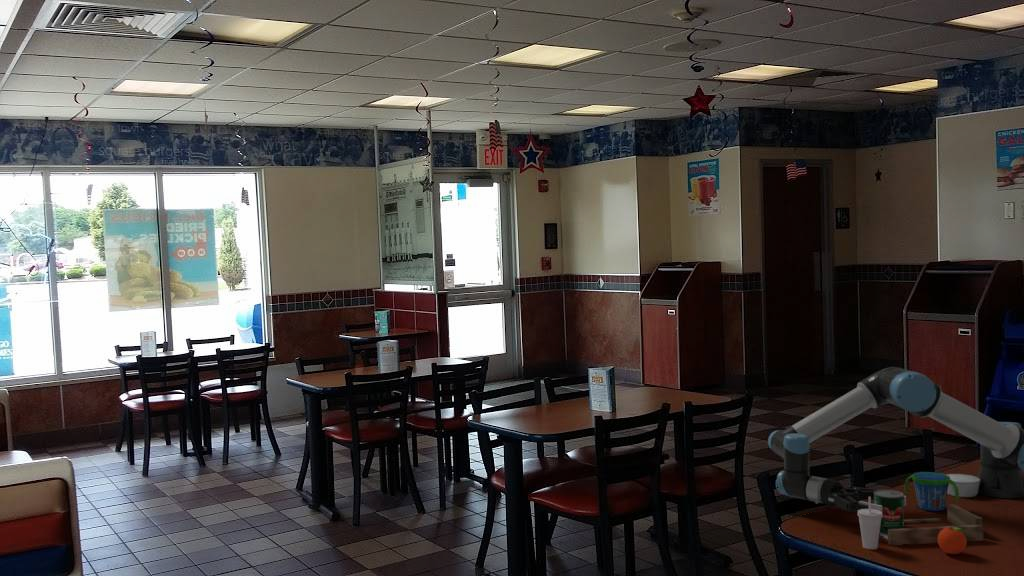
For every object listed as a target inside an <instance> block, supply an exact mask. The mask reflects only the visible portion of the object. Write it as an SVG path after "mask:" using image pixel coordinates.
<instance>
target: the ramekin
mask: <svg viewBox="0 0 1024 576" xmlns="http://www.w3.org/2000/svg"><path fill="white" fill-rule="evenodd" d="M946 475H947V476H949V477H950V479H951V480H952V481H954V482H955V484H956V485H957V487H958V490H959V498H974V497H976V496H977V495H978V494H979V493H978V489H979V484H980V479H979V478H977V476H976V475H975V476H974V475H970V474H963V473H962V474H961V473H949V474H946ZM949 494H950V495H949ZM947 495H949V496H952V497H955V489H954V486H953V485H951V484H950V483H949V486H948V491H947Z"/></svg>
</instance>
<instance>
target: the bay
mask: <svg viewBox="0 0 1024 576" xmlns="http://www.w3.org/2000/svg"><path fill="white" fill-rule="evenodd" d="M946 509H947V510H946V511H947V513H946V514H947V516H946V517H947V518H946V519H947V521H946V522H948V523H949V524H952V525H947V526H946V525H943V526H927V527H926V526H925V527H923V526H922V527H904V528H902V529H888V540H887V545H890V546H902V545H903V544H908V545H923V544H924V545H925V544H938V535H939V533H940V531H941V530H943V529H945V528H947V527H953V528H960V529H962V530H960V529H959V530H960V531H961V532H962V533H963V534H964V535H965V537H966V541H967V542H979V541H984V525H983V517H981V516H978V515H977V514H974V513H972V512H970V511H968V510H967V509H964V508H962V507H960V506H958V505H956V504H954V503H953V504H952V503H951V504H947V506H946ZM921 522H925V523H940V522H942V519H941V518H940V517H934V518H933V517H931V518H914V519H913V518H912V519H904V523H906V524H916V523H917V524H922V523H921ZM858 525H859V526H860V522H859V521H858ZM965 531H966V532H967V533H968V534H967V533H966V532H965ZM903 546H904V545H903Z"/></svg>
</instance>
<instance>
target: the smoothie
mask: <svg viewBox="0 0 1024 576" xmlns="http://www.w3.org/2000/svg"><path fill="white" fill-rule="evenodd" d="M871 501H872V500H871V497H869V500H868V503H869V509H860V510H858V513H857V516H858V523H859V522H860V525H859V528H860V535H861V541H862V542H861V543H862V548H864V549H865V550H866V549H867V550H877V549H878V547H879V541H880V540H879V539H880V535H879V532H880V524H881V518H882V517H883V516H882V512H881V511H878V510H874V509H871V503H872V502H871Z"/></svg>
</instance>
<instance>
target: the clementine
mask: <svg viewBox="0 0 1024 576" xmlns="http://www.w3.org/2000/svg"><path fill="white" fill-rule="evenodd" d="M959 529H960V528H953V527H947V528H945V529H943V530H941V531H940V533H939V535H938V543H937V544H938V546H939V548H940V549H941V550H942V551H943V552H944V553H947V554H948V555H959V554H961V553H962V552H963V551H964V550H965V549H966V547H967V542H968V541H966V537H965V535H964V534H963V533H962V532H961V531H960V530H962V529H960V530H959ZM965 532H966V531H965ZM966 533H967V532H966ZM967 534H968V533H967Z"/></svg>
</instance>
